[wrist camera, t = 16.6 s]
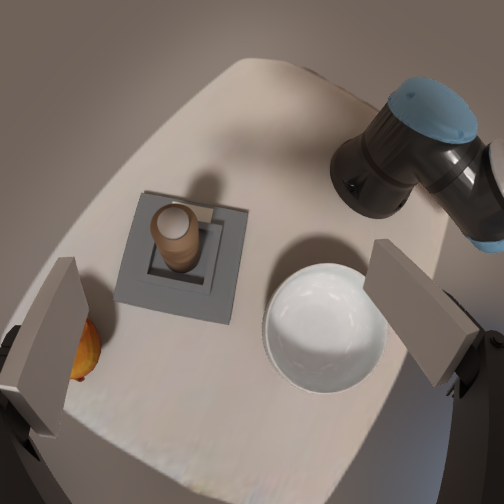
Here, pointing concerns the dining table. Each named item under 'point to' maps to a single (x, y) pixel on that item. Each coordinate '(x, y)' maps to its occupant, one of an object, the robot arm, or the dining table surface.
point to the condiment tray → (191, 283)
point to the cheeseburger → (86, 352)
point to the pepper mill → (177, 237)
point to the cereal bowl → (323, 329)
